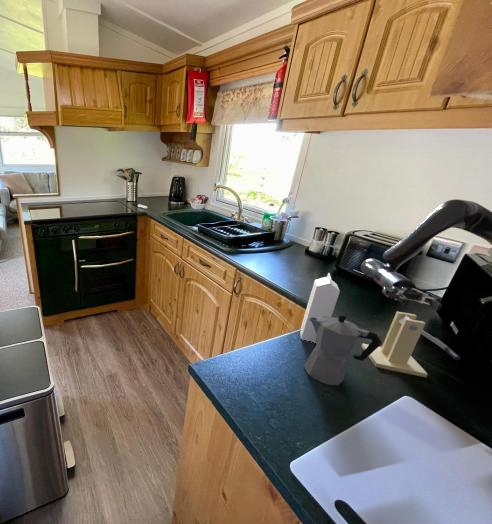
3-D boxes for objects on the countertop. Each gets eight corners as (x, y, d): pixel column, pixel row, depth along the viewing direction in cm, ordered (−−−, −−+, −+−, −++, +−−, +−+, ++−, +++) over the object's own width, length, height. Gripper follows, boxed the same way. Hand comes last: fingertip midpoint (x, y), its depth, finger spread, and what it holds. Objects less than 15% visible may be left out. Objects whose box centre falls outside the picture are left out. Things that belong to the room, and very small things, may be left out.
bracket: (406, 355, 88) (425, 312, 82) (426, 377, 78) (449, 331, 73) (361, 346, 91) (377, 304, 85) (375, 366, 81) (394, 321, 76)
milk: (300, 339, 92) (319, 276, 84) (299, 330, 97) (317, 270, 90) (322, 345, 90) (343, 281, 82) (320, 335, 95) (339, 274, 87)
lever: (433, 343, 84) (441, 337, 83) (455, 362, 76) (464, 356, 75) (392, 315, 85) (399, 309, 84) (409, 331, 77) (417, 325, 76)
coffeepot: (294, 373, 77) (312, 314, 71) (297, 354, 84) (313, 300, 78) (364, 399, 69) (391, 336, 63) (361, 377, 77) (384, 318, 71)
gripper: (377, 272, 105) (400, 290, 91) (424, 279, 102) (456, 298, 87) (370, 290, 108) (392, 311, 93) (415, 297, 105) (445, 320, 90)
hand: (423, 305), depth 90 cm, fingers open, 8 cm apart
